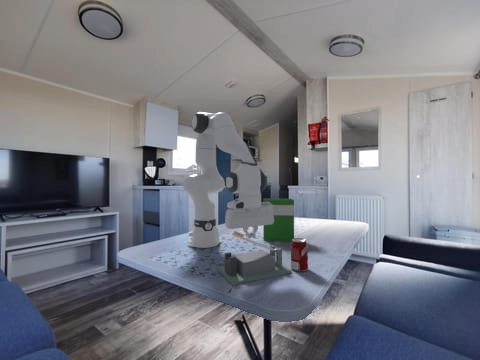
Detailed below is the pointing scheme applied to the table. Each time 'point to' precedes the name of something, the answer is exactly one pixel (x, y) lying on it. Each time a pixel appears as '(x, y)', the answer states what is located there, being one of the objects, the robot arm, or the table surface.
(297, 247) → the soda can
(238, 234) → the strap
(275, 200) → the green cereal box
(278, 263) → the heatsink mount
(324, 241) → the table surface
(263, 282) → the table surface
